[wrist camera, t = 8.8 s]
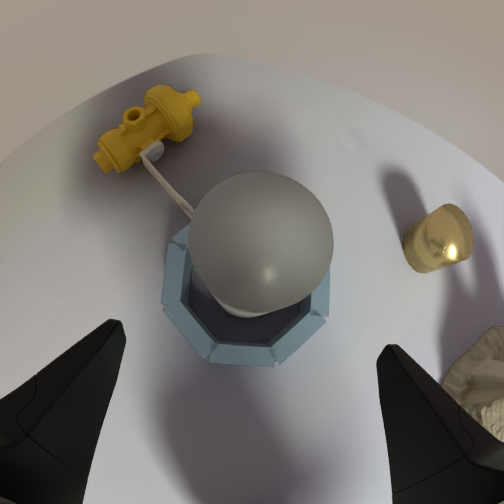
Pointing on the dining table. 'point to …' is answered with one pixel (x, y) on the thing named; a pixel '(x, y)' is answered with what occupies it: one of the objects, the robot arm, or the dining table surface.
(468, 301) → the dining table surface
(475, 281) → the dining table surface
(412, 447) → the robot arm
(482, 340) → the jagged beige rock
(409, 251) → the short brass cylinder
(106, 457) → the dining table surface
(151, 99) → the pressure relief valve
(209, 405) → the dining table surface
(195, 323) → the collar
